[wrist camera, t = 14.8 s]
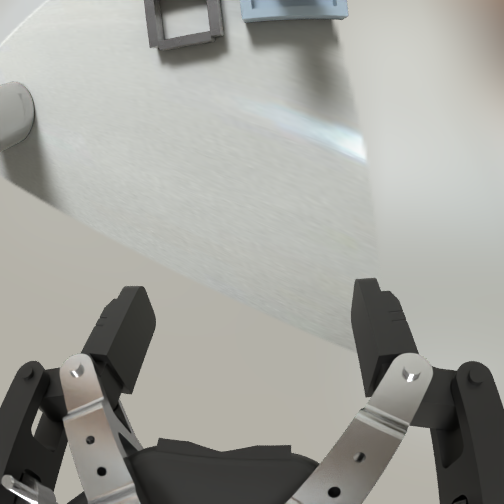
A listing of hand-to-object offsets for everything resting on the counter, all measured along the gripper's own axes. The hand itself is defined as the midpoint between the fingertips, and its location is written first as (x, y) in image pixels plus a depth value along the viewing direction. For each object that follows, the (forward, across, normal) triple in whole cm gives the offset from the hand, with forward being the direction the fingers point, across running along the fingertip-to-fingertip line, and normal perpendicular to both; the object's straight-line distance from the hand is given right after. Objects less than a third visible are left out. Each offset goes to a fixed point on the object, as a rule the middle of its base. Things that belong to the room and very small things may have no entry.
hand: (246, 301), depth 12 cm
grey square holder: (+26, +7, -15) cm, 31 cm away
